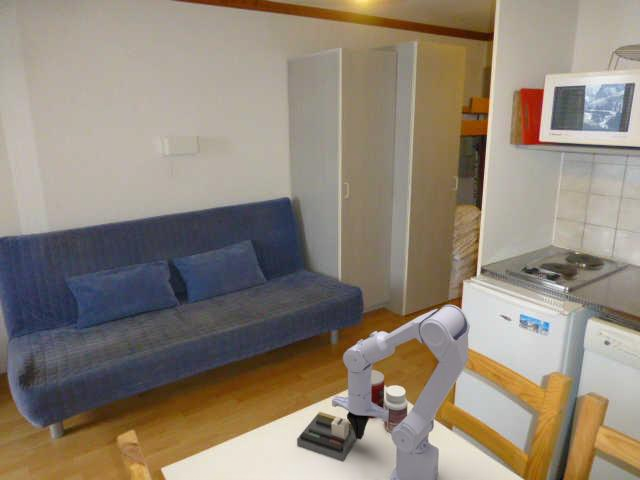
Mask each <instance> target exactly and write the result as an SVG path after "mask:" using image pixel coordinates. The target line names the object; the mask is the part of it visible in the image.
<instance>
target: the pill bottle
mask: <svg viewBox="0 0 640 480" xmlns="http://www.w3.org/2000/svg"><path fill="white" fill-rule="evenodd" d="M385 391H386V392H385V397H384V409H385V410H388V411H389V418H388V419H387V421H386V422H385V421H383V423H384V424H383V426H384V429H385V430H386V431H388V432H389V433H392V430H393V428H394V427H396V426H398V425H399V423H400V422H401V421H402V420H403V419H404V418H405V417H406V416H407V415H408V399H407V397H406V396H407V395H406V393H407V391H406V389H405V388H404V387H403V386H401V385H389V386H388V387H387V388H385Z"/></svg>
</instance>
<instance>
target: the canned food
mask: <svg viewBox="0 0 640 480" xmlns="http://www.w3.org/2000/svg"><path fill="white" fill-rule="evenodd" d="M384 400H385V375H384V374H383V373H382V372H381V371H378V370H377V369H376V370H375V369H372V373H371V402H372V403H374V404H376V405H378V406H379V407H381V408H383V409H384ZM370 418H371V419H372V418H375V417H374V416H370ZM370 418H369V419H370Z"/></svg>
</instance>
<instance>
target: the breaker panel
mask: <svg viewBox="0 0 640 480" xmlns="http://www.w3.org/2000/svg"><path fill="white" fill-rule="evenodd" d="M336 417H337V418H341V417H338V416H335V415H332V414H328V413H326V412H322V411H318V412H317V414H316V415H315V416H314V417H313V419H312V420H311V421H310V423H309V424H308V425H307V426H306V427H305V429H303V431H302V432H301V434H300V435H299V436H298V437H297V438H296V445H297V446H298V447H300V448H303V449H306V450H309V451H312V452H315V453H317V454H322V455H323V456H327V457H330V458H333V459H335V460H338V461H341V462H343V461H344V460H345V459H346V457H347V455H348V454H349V453H350V451H351V449H352V448H353V446H354V445H355V443H356V441H357V440H358V439H357V438H356V436H355V432H354V429H353V427H352V425H351V423H350V422H349V435H348V436H347V437H346V439H345V440H344V439H342V438H339V437H336V436H333V435H332V427H331V423H332V422H333V421H334V419H335V418H336ZM341 419H344V420H347V421H349V420H348V419H346V418H341Z"/></svg>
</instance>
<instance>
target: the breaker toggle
mask: <svg viewBox="0 0 640 480" xmlns="http://www.w3.org/2000/svg"><path fill="white" fill-rule="evenodd" d="M337 417H338V416H336V418H335V419H334V421H333V422H332V423H331V427H332V435H333V436H336V437H339V438H342V439H344V440H345V439H346V437H347V436H348V435H349V421H347V420H348V419H346V420H344V419H345V418H342V419H341V417H339V418H337Z"/></svg>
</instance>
